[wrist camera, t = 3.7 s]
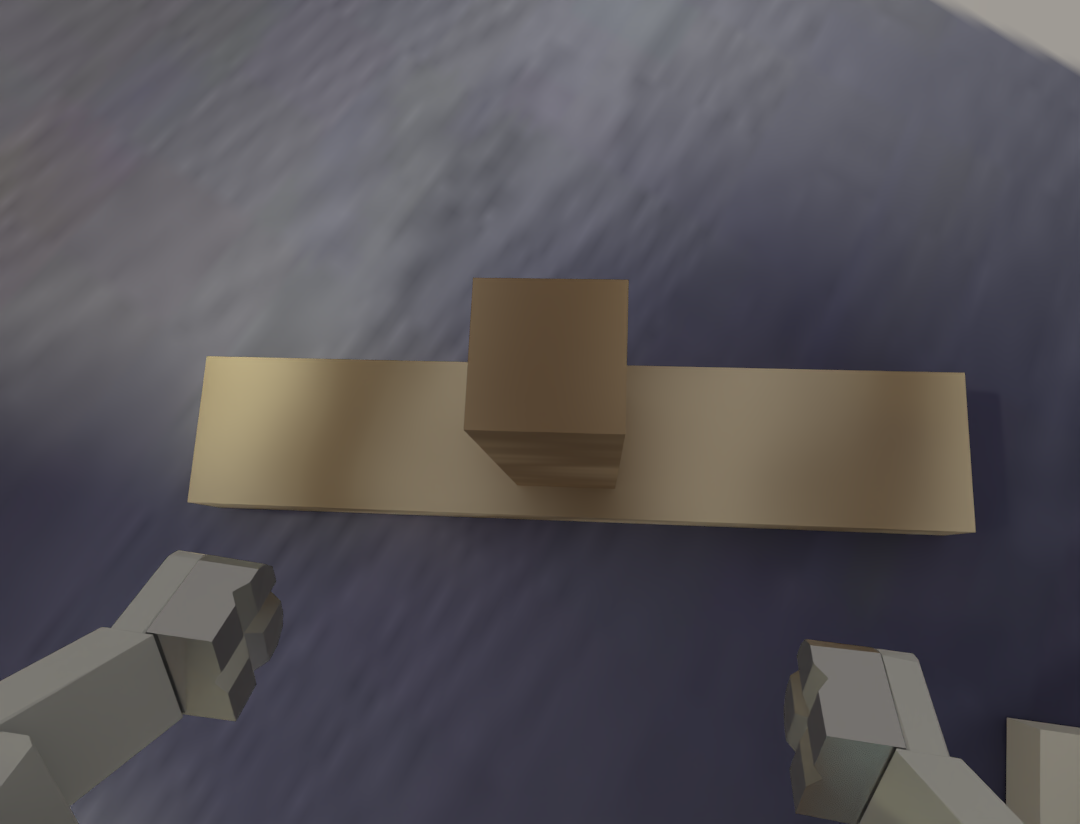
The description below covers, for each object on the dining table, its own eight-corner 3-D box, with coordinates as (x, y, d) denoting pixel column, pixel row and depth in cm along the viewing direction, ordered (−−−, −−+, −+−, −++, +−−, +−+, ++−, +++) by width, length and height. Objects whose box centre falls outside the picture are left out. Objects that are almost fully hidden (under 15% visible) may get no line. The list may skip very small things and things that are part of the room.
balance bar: (223, 508, 22) (-71, 459, 12) (240, 374, 23) (-25, 230, 13) (939, 535, 21) (1247, 504, 11) (931, 390, 21) (1210, 240, 12)
